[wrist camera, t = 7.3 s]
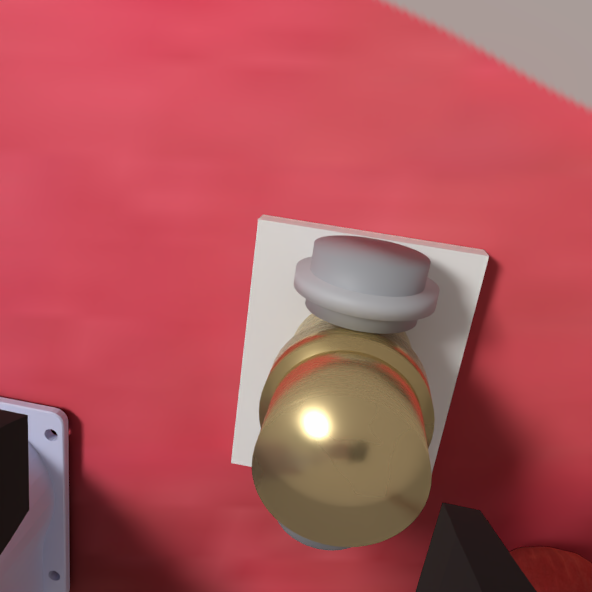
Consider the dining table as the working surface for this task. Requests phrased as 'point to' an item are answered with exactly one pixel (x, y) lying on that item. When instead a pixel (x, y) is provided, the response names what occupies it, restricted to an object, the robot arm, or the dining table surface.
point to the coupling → (344, 435)
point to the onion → (554, 569)
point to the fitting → (355, 307)
